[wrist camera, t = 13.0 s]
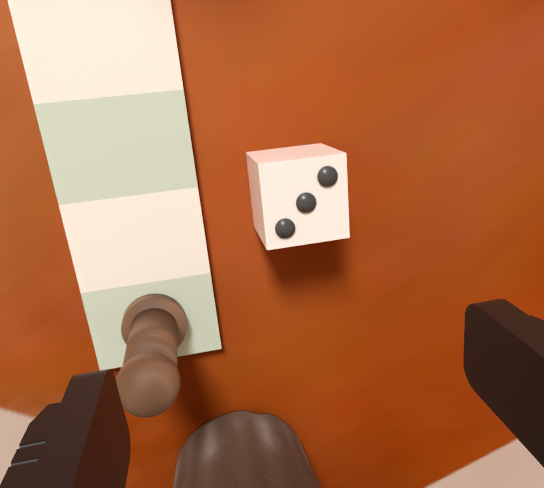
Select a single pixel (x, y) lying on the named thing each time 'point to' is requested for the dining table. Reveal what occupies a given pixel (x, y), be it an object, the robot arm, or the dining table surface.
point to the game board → (120, 160)
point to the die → (299, 195)
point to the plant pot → (244, 455)
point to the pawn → (151, 354)
